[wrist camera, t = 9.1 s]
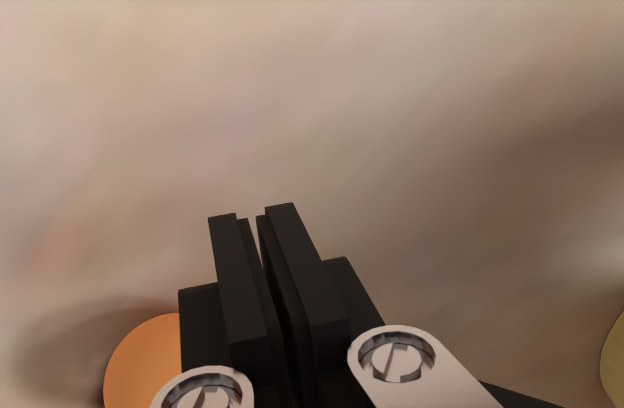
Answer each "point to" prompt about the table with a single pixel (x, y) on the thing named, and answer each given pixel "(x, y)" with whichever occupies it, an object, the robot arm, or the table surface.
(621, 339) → the potted cactus
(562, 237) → the table surface
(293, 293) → the robot arm
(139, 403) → the ball
